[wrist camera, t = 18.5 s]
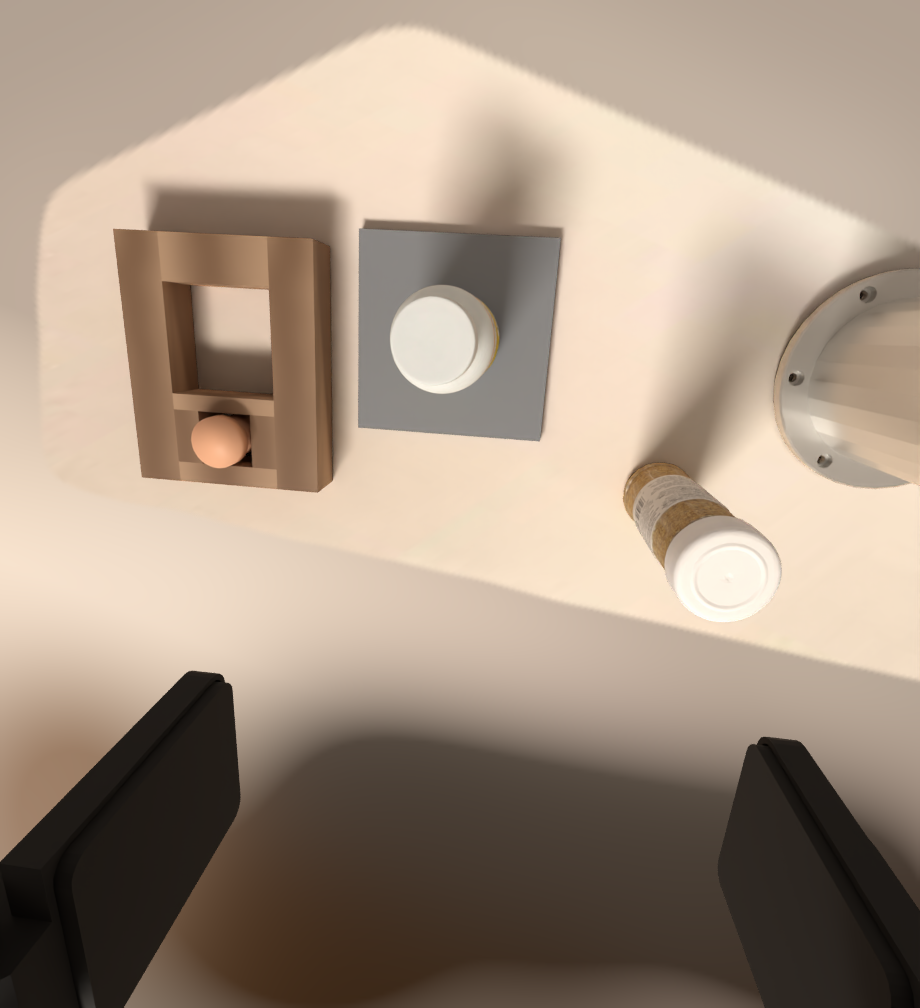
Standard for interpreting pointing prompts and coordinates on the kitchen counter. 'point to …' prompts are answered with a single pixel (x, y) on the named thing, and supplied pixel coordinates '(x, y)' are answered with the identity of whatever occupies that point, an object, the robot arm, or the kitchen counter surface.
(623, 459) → the kitchen counter surface
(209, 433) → the peach rounded piece
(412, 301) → the supplement bottle
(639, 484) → the sprinkles bottle
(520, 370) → the pad
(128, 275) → the housing
